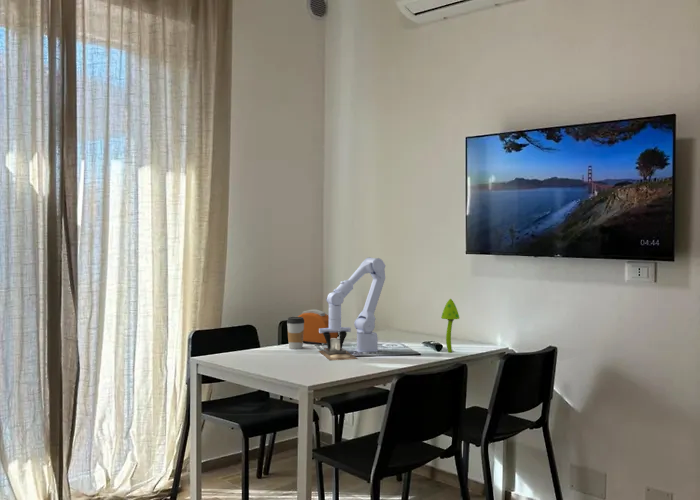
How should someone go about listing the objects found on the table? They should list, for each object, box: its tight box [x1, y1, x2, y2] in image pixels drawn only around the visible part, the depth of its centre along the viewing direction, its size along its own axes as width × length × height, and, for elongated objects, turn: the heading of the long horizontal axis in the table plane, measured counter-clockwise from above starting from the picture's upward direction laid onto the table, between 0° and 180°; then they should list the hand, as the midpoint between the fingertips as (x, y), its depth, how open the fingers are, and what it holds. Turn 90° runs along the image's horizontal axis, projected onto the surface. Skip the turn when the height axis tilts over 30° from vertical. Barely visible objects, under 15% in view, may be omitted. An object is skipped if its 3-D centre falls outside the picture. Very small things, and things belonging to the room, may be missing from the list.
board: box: [317, 349, 359, 361], centre depth 315 cm, size 13×24×1 cm, turn 15°
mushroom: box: [440, 298, 460, 353], centre depth 324 cm, size 8×8×25 cm
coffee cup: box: [286, 316, 304, 350], centre depth 332 cm, size 8×8×15 cm
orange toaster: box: [297, 309, 339, 346], centre depth 349 cm, size 23×9×17 cm, turn 59°
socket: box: [323, 347, 347, 355], centre depth 319 cm, size 8×8×2 cm
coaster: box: [330, 354, 350, 359], centre depth 310 cm, size 9×9×1 cm
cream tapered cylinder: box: [329, 337, 340, 351], centre depth 318 cm, size 9×5×6 cm, turn 17°
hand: (334, 348), depth 319 cm, fingers closed on cream tapered cylinder, 5 cm apart
